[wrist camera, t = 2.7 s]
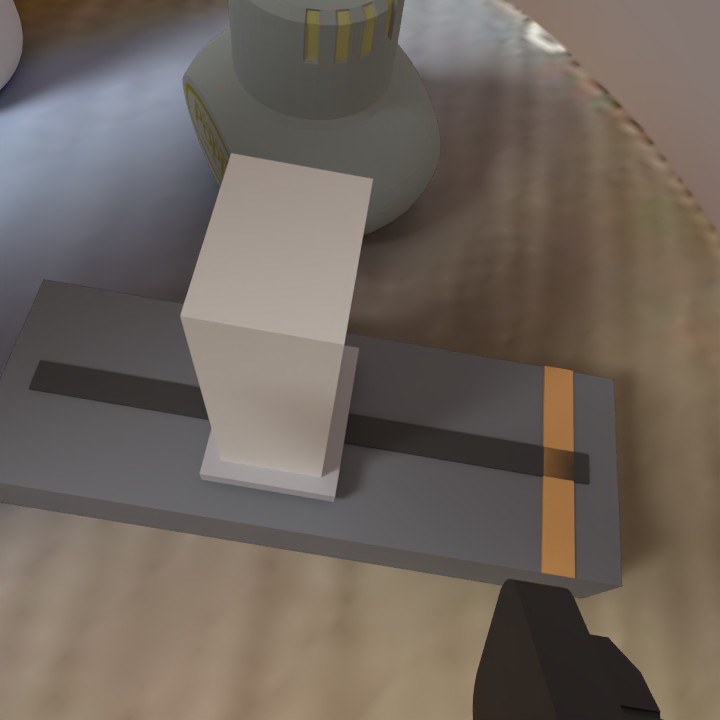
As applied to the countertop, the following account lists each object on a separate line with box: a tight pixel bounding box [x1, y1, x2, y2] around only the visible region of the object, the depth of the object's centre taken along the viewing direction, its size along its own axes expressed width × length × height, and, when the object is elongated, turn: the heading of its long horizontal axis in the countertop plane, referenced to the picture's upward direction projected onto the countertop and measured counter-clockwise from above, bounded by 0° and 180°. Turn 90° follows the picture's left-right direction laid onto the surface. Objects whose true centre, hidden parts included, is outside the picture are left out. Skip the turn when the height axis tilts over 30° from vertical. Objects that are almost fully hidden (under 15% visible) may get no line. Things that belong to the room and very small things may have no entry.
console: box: [0, 279, 622, 598], centre depth 22 cm, size 20×7×3 cm, turn 82°
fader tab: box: [180, 153, 373, 502], centre depth 17 cm, size 4×5×9 cm
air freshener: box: [183, 0, 441, 235], centre depth 25 cm, size 11×8×10 cm
